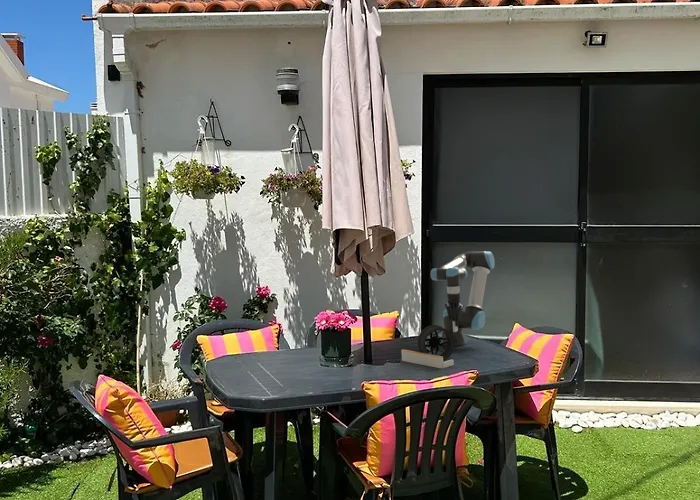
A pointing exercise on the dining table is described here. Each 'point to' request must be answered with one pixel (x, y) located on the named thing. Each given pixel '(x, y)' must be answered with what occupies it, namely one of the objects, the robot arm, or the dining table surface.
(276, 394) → the dining table surface
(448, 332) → the wheel rim
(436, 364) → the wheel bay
